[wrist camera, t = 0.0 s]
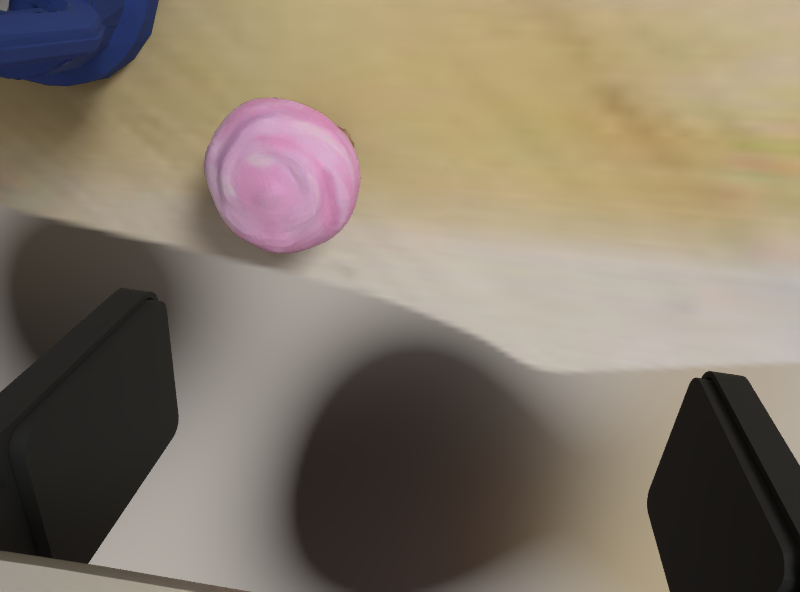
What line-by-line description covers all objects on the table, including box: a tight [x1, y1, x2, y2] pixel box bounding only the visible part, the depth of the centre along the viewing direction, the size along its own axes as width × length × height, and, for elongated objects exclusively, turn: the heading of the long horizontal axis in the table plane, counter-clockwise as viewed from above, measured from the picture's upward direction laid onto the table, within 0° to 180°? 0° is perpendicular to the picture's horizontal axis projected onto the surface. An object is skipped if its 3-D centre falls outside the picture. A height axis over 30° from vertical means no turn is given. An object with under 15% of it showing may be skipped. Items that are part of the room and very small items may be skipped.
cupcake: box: [204, 98, 360, 253], centre depth 37 cm, size 9×9×10 cm
